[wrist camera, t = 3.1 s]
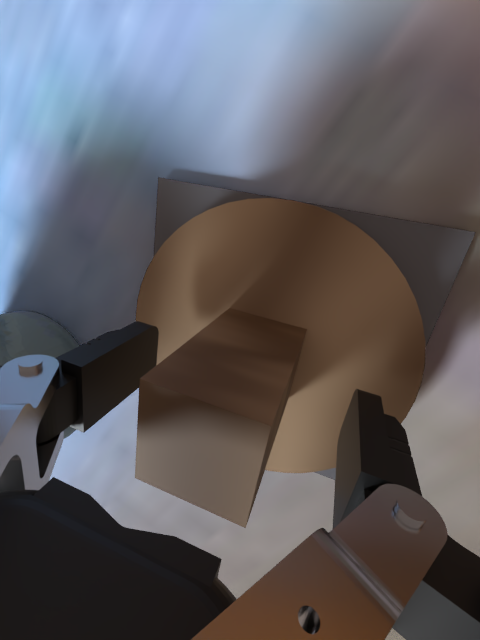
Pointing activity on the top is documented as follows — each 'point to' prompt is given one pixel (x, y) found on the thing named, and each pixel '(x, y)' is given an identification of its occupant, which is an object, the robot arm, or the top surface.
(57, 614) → the robot arm
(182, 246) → the lid
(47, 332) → the grey green tapered cylinder
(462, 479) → the top surface
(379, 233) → the mat
